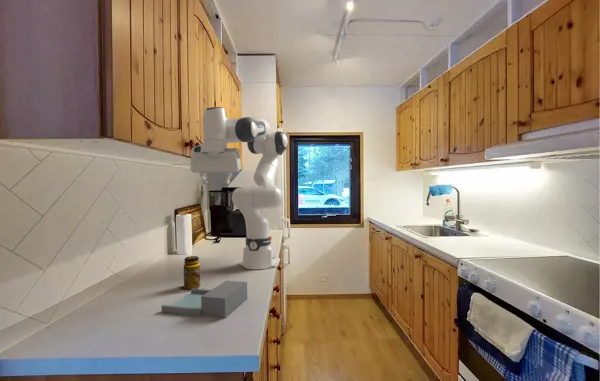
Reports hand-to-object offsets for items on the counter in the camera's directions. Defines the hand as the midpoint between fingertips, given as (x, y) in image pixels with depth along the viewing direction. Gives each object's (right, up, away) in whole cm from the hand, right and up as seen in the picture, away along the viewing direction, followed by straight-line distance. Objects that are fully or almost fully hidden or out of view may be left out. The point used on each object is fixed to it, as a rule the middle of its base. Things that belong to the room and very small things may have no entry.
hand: (216, 184), depth 123 cm
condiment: (-10, -41, 0) cm, 42 cm away
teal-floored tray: (+2, -41, -18) cm, 45 cm away
